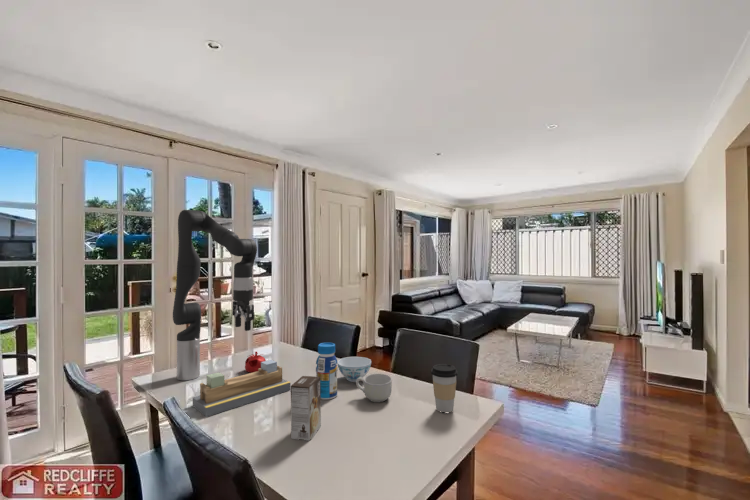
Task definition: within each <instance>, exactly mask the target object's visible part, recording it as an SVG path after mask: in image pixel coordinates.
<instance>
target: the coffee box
mask: <svg viewBox="0 0 750 500" xmlns="http://www.w3.org/2000/svg"><path fill="white" fill-rule="evenodd" d="M321 400H322V399H321V388H320V377H316V376H309V375H302V376H301V377H300V378H298V379H297V380H296V381H295V382H294V383H292V384H290V438H291V440H299V439H304V440H303V441H309V440H310V439H311V438H312V439H313V438H314V436H315V435H316V434H317V432H318V431H319V429H320V428H321V426H322V416H321V414H322V411H321V409H322V408H321V405H322V404H321V403H322V401H321ZM317 430H318V431H317ZM314 434H315V435H314ZM312 439H311V440H312ZM311 440H310V441H311Z"/></svg>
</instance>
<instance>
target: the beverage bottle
mask: <svg viewBox="0 0 750 500" xmlns="http://www.w3.org/2000/svg"><path fill="white" fill-rule="evenodd" d="M335 353H336V343H333V342H320V343H319V344H318V345H317V354H318V356H317V358H316V361H315V365H316V366H315V372H316V375H315V377H320V388H321V400H323V401H324V400H332V399H335V398H336V397H337V396H338V370H339V368H338V364H337V362H338V359H337V357H336V355H335Z"/></svg>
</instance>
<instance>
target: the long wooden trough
mask: <svg viewBox="0 0 750 500" xmlns="http://www.w3.org/2000/svg"><path fill="white" fill-rule="evenodd" d="M282 379H283V367H281V366H279V365H277V371H275V372H271V373H268V372H267V371H265V370H263V369H261V368H259V369H258V371H257V372H253V373H250V372H248V373H246V374H243V375H242V374H241V375H237V376H235V377H231V378H226V379H224V385H223V386H219V387H215V388H210V387H208V386H207V384H206V383H203V382H201V383H199V389H200V390H199V396H200V399H201V400H204V399H205V403H206V404H207V403H211V402H214V401H218V400H221V399H224V398H228V397H231V396H235V395H238V394H241V393H245V392H248V391H251V390H255V389H258V388H262V387H265V386H268V385H272V384H275V383H279V382H282Z"/></svg>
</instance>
